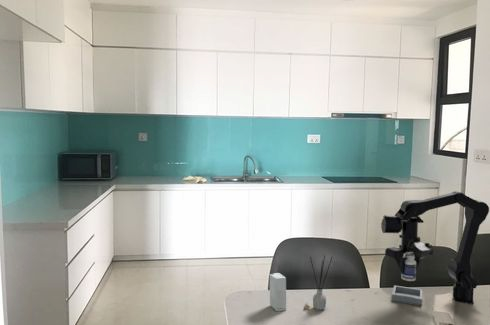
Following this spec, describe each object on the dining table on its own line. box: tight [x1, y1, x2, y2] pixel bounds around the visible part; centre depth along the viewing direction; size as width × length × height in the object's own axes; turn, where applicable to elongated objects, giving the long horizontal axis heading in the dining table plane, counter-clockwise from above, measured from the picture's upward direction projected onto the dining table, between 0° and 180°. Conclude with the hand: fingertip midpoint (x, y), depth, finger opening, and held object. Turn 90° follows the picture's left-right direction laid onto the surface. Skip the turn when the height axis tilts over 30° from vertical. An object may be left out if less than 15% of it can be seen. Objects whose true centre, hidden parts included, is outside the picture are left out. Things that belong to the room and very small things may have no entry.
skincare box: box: [269, 272, 287, 312], centre depth 145 cm, size 6×4×12 cm
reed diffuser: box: [303, 254, 333, 310], centre depth 144 cm, size 10×7×20 cm
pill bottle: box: [400, 253, 417, 282], centre depth 155 cm, size 5×5×10 cm
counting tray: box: [391, 284, 423, 307], centre depth 155 cm, size 11×11×2 cm
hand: (408, 272), depth 155 cm, fingers closed on pill bottle, 5 cm apart
